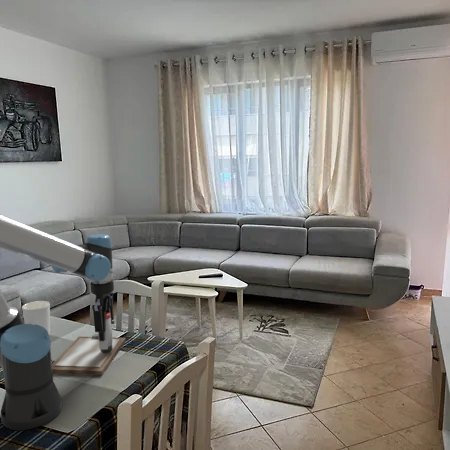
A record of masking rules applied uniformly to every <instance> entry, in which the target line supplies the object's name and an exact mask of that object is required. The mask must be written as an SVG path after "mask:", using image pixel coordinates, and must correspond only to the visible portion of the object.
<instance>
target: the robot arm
mask: <svg viewBox="0 0 450 450" xmlns="http://www.w3.org/2000/svg"><path fill="white" fill-rule="evenodd" d="M112 248H113V247H112V241H111V237H110V235H108V234H104V233H98V234H96V233H95V234H91V235H88V236H87V237H86V242H85V243H81V244H74V243H72V242H69V241H67V240H64V239H62V238H60V237H57V236H55V235H52V234H50V233H47V232H46V231H45V232H44V231H42V230H40V229H38V228H34V227H32V226H30V225H27V224H25V223H22V222H20V221H17V220H15V219H12V218H11V217H7V216H5V215H3V214H0V249H3V250H6V251H8V252H12V253H15V254H17V255H21V256H24V257H26V258H29V259H32V260H34V261H38V262H41V263H44V264H46V265H50V266H51V268H52V270H53V271H54V272H55V273H57V274H62V273H67V272H70V273H73V274H75V275H77V276H81V277H84V278H86V279H88V280H89V281H90V282H89V283H90V284H89V285H90V293H91V294H92V295H94V296H95V299H94V302H95V304H92V306H91V309H92V312H93V313H92V314H93V322H94V324H93V325H94V332H95V333H97V334H98V336H99V349H108V341H107V330H106V312H109V313H111V333H112V334H113V328H112V327H113V325H115V321H114V319H115V318H114V317H115V316H114V315H115V314H114V313H115V312H114V291H115V285H114V283H115V281H114V280H113V279H114V274H115V270H113V254H112V252H113V249H112ZM51 342H52V341H51V338H50V334H48V331H47V330H46V329H45V328H44V327H42V326H40V325H37V324H35V325H32V324H25V322H24V318H23V317H22V315H21V314H20V311H19V309H18V308H17V307H14V306H9V304H8V302H7V300H6V297H5V296H4V294H3V292H2V291H1V289H0V368H2V371H3V379H4V388H5V393H4V397H3V401H2V405H1V408H0V422H2V423H1V425H2V424H3V425H4V426H5V427H4V426H3V425H2V426H3V427H4V428H6V427H7V428H6V429H8V428H9V429H8V430H13V431H26V430H31V429H35V428H38V427H41V426H43V425H45V424H47V423H50V422H51V421H52V420H54V419H55V418H56V417H58V415H59V414H60V413H61V411H62V408H63V402H62V401H63V400H62V396H61V394H60V392H59V390H58V388H57V385H56V383H55V382H54V375H53V374H52V364H53V362H52V352H51V351H52V350H51V349H52V348H51V347H52V346H51V345H52V344H51ZM112 342H113V339H112Z"/></svg>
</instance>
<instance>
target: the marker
mask: <svg viewBox="0 0 450 450" xmlns="http://www.w3.org/2000/svg"><path fill="white" fill-rule="evenodd" d="M111 325H112V324H111V313H109V312H106V330H107V341H108V349H100V351H101V352H102V353H107V352H110V351H112V337H113V332H112V333H111Z"/></svg>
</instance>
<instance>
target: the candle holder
mask: <svg viewBox="0 0 450 450" xmlns="http://www.w3.org/2000/svg"><path fill="white" fill-rule="evenodd" d="M50 308H51V303H50V302H49V301H46V300H35V301H30V302H27V303H26V304H23V305H22V306H21V309H22V310H21V311H22V315H23V321H24V323H25V324H32V325H35V324H37V325H40V326H42V327H44V328H45V329H46V330H47V331H48V334H49V335H50V333H51V309H50Z"/></svg>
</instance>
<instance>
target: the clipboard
mask: <svg viewBox="0 0 450 450" xmlns="http://www.w3.org/2000/svg"><path fill="white" fill-rule="evenodd" d="M112 339H113V342H112V351H110V352H107V353H102V352H101V351H100V349H99V336H98V333H93V334H92V336H78V337H76V339H75V340H74V341H73V342H72V343H71V344H70V345H69V346H68V347H67V348H66V349H65V350H64V351H63V352H62V353H61V354H60V355H59V356H58V358H56V359H55V360H54V361H53V362H52V374H54V375H77V376H78V375H79V376H80V375H81V376H103V375H104V374H105V372H106V371H107V369H108V368H109V366H110V365H111V364H112V362H113V361H114V360H115V358H116V356H117V355H118V354H119V352H120V350H121V349H122V348H123V347H124V345H125V343H126V342H127V340H126V337H113V336H112Z"/></svg>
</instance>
